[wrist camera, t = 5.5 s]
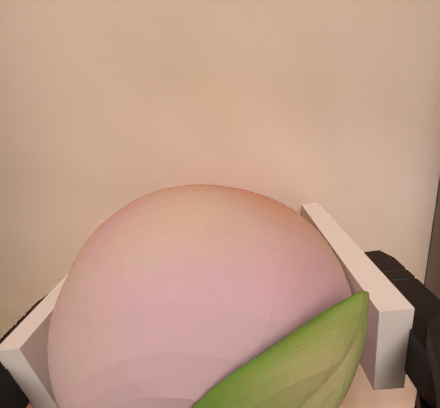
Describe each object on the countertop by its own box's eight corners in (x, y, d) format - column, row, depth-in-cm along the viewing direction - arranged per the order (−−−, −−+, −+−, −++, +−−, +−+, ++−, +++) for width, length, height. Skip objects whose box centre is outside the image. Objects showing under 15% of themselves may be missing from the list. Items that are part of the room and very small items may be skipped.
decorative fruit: (183, 112, 11) (-81, 154, 2) (326, 208, 12) (632, 524, 3) (100, 262, 14) (-156, 581, 5) (223, 325, 15) (217, 662, 6)
